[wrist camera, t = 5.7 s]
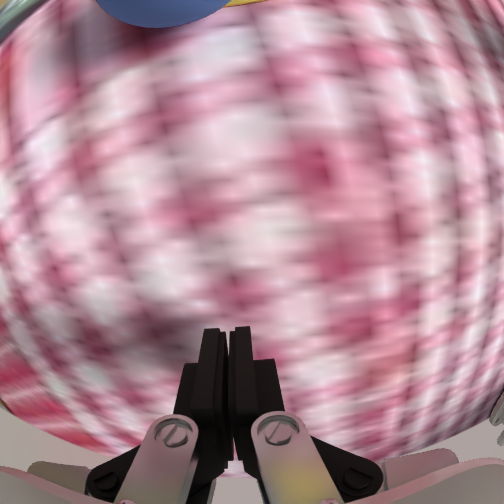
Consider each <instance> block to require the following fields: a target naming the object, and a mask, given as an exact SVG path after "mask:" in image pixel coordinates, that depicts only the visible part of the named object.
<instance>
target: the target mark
mask: <svg viewBox="0 0 504 504" xmlns="http://www.w3.org/2000/svg"><path fill="white" fill-rule="evenodd" d="M261 1H266V0H231V1H230V2H229V3H227V4H226V5H225V6H223V7H228V6H237V5H243V4H249V3H255V2H261Z"/></svg>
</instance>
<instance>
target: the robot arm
mask: <svg viewBox="0 0 504 504" xmlns="http://www.w3.org/2000/svg"><path fill="white" fill-rule="evenodd" d="M490 422H491V424H492V425H493V426H497V425H499V424H501V423H503V424H504V392H503V393H502V395H501V396H500V398H499V400H498V401H497V403H496V405H495V407H494V408H493V410H492V413H491V415H490ZM233 437H234V442H235V447H236V452H237V456H238V460H243V465H244V470H245V472H246V473H248V474H249V475H251V476H253V477H254V478H256V479H257V483H258V486H259V490H260V493H261V496H262V500H263V503H264V504H504V460H501V459H499V458H479V459H473V460H468V461H464V462H460V463H459V461H458V458H457V456H456V455H455V453H453V452H452V451H451V450H448V449H444V448H442V449H435V450H431V451H426V452H422V453H417V454H413V455H407V456H402V457H396V458H389V459H384V461H383V462H378V463H374V462H372V461H370V460H368V459H365V458H363V457H360V456H357V455H355V454H352V453H350V452H347V451H345V450H342V449H340V448H337V447H335V446H333V445H330V444H328V443H326V442H323V441H321V440H319V439H317V438H315V437H312V436H310V435H309V432H308V430H307V428H306V426H305V424H304V423H303V421H302V420H301V419H300V418H299V417H298V416H296V415H295V414H292V413H289V412H285V409H284V404H283V399H282V394H281V389H280V384H279V379H278V374H277V369H276V365H275V360H274V359H263V360H253V353H252V342H251V331H250V326H244V327H235V331H230V339H229V354H228V347H227V339H226V332H220V329H219V328H210V329H204V333H203V338H202V344H201V349H200V355H199V360H198V363H186V364H185V365H184V368H183V372H182V376H181V380H180V385H179V389H178V393H177V398H176V402H175V407H174V411H173V414H172V415H166V416H163V417H161V418H158V419H157V420H156V421H154V422H153V423H152V425H151V426H150V427H149V429H148V431H147V434H146V436H145V438H144V440H143V442H142V444H141V445H139V446H137V447H135V448H133V449H131V450H130V451H128V452H126V453H124V454H122V455H120V456H118V457H116V458H114V459H112V460H110V461H107V462H105V463H103V464H101V465H99V466H97V467H95V468H94V469H92V470H90V469H88V468H87V467H84V466H83V467H82V466H73V465H63V464H56V463H50V462H44V461H40V462H39V461H38V462H35V463H33V464H32V465H31V466H30V467H29V469H28V471H27V472H24V471H22V470H18V469H15V468H10V467H5V466H0V504H211V503H212V499H213V494H214V490H215V486H216V478H217V477H218V476H219V475H221V474H222V473H223V472H224V469H228V461H233V460H234V445H233ZM497 443H498V445H500V446H503V445H504V430H503V431H502V433H501V434H500V436H499V437H498V439H497Z"/></svg>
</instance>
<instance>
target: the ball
mask: <svg viewBox="0 0 504 504" xmlns="http://www.w3.org/2000/svg"><path fill="white" fill-rule="evenodd" d="M96 1H97V2H98V4H99V5H100V7H101V8H103V9H104V10H105V11H106V12H107V13H108V14H109V15H111V16H113V17H114V18H116V19H118V20H120V21H122V22H125V23H127V24H131V25H135V26H140V27H148V28H164V27H173V26H179V25H184V24H188V23H191V22H194V21H197V20H199V19H202V18H204V17H206V16H208V15H210V14H212V13H214V12H216V11H218V10H219V9H221V8H222V7H223V6H225V5H226V4H227V3H229V2H230V1H231V0H96Z"/></svg>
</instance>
